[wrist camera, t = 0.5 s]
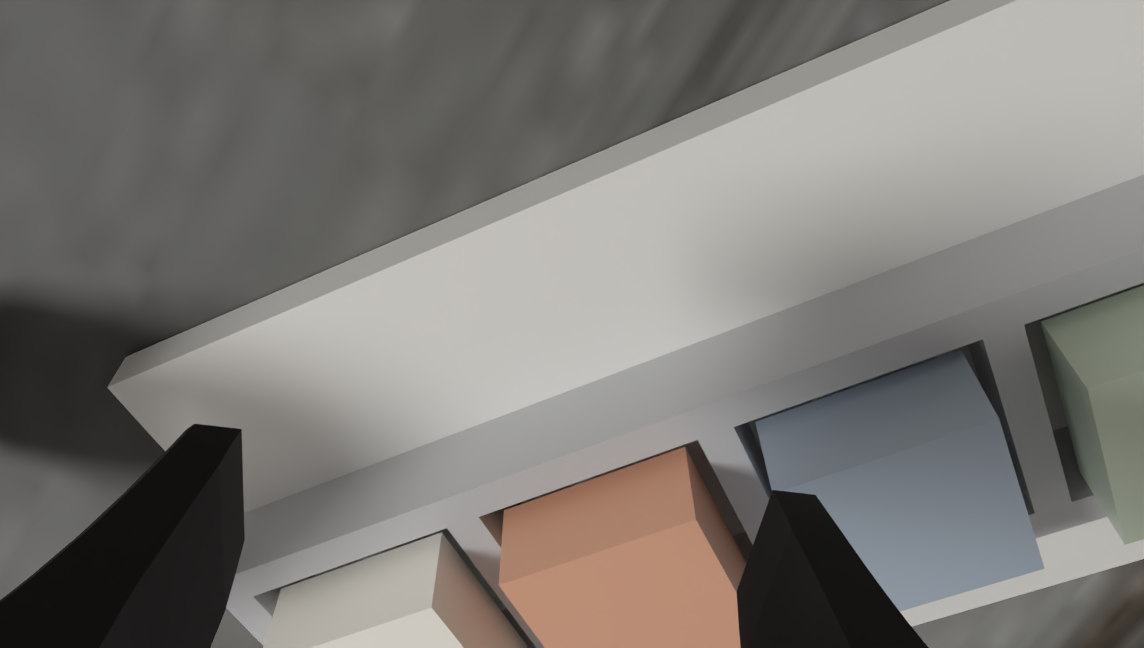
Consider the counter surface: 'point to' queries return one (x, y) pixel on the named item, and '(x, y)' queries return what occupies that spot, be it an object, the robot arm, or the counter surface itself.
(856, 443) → the key slate
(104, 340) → the counter surface
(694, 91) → the counter surface
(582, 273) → the keypad
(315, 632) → the key ivory
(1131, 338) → the key sage
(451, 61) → the counter surface
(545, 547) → the key terracotta
